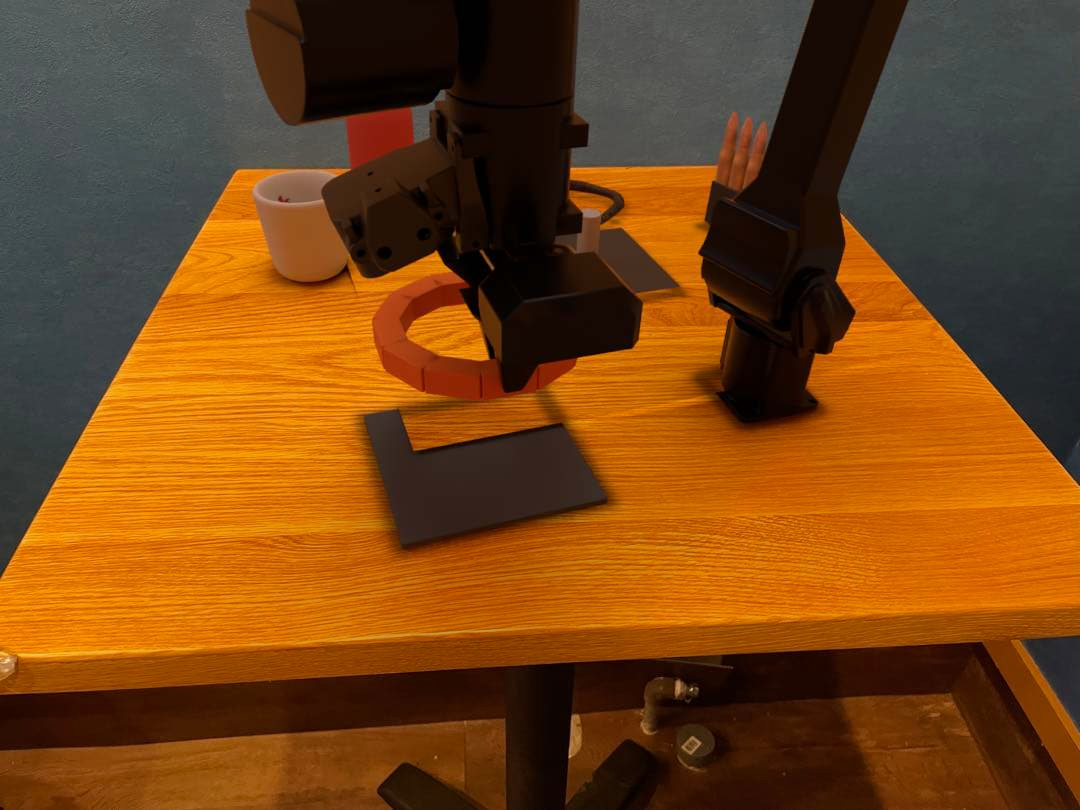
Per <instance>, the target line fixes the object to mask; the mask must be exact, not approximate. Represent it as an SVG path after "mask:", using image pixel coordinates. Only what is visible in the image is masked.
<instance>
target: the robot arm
mask: <svg viewBox="0 0 1080 810" xmlns="http://www.w3.org/2000/svg"><path fill="white" fill-rule="evenodd" d="M580 3H581V0H249V8H246V9H245V10H244V13H245V15H244V16H245V22H246V27H247V28H246V29H247V34H248V39H249V43H250V48H251V52H252V56H253V60H254V63H255V66H256V70H257V72H258V75H259V79H260V81H261V85H262V87H263V89H264V91H265V93H266V97H267V98H268V100H269V102H270V104H271V106H272V108H273V109H274V112H275V113H276V114H277V116H278V118H280V120H281V121H282V122H283V123H284V124H285V125H287V126H291V127H299V126H300V127H301V126H305V125H312V124H318V123H323V122H330V121H336V120H342V119H345V118H349V117H356V116H362V115H368V114H374V113H380V112H386V111H393V110H399V109H405V108H411V109H412V108H417V107H423V106H428V105H429V104H431V103H432V102H434V109H431V110H429V112H428V120H429V121H428V122H429V123H428V124H429V125H428V126H429V137H428V138H425V139H423V140H421V141H418V142H414V144H413V145H410V146H407V147H402V148H398V149H396V150H393V151H391V152H389V153H387V154H384V155H382V156H380V157H378V158H376V159H374V160H371V161H369V162H367V163H365V164H363V165H360V166H358V167H356V168H354V169H352V170H351V169H350V170H348V171H345V172H343V173H341V174H338V176H337V177H335V178H333V179H331V180H330V181H328V182H327V183H326V184H325V185H324V186H323V188H322V190H321V194H322V197H323V200H324V203H325V206H326V209H327V212H328V215H329V217H330V219H331V221H332V223H333V225H334V227H335V229H336V230H337V232H338V234H339V236H340V238H341V240H342V241H343V243H344V245H345V247H346V249H347V251H348V255H349V256H350V258H351V260H352V262H353V263H354V266H355V267H356V269H357V271H358V272H359V274H360V276H361V277H363V278H364V279H376V278H377V279H378V278H382V277H383V276H385V275H388V274H391V273H394V272H397V271H399V270H401V269H403V268H405V267H408V266H410V265H411V264H414V263H416V262H418V261H420V260H422V259H424V258H427V257H429V256H431V255H433V254H434V253H436V252H437V254H438V256H439V258H440V259H441V262H442V263H443V265H444V266H445V267H446V268H447V269H448V270H450V272H454V273H455V274H456V275H458V276H459V277H460V278H461V279H463V280H464V281H465V282H466V283H468V287H469V288H462V289H459V292H460V294H461V296H462V298H463V300H464V301H465V303H466V304H465V305H466V307H467V308H468V311H469V312H470V314H471V315H472V317H473V318H474V319H475V320H476V321H478V325H479V328H480V329H479V330H480V333H481V336H482V339H483V342H484V346H485V351H486V353H487V357H488V360H489V359H496V362H497V367H498V372H499V377H500V381H501V386H502V389H503V391H504V392H505V393H511V392H517V391H521V390H523V389H524V387H525V386H526V384H527V382H528V381H529V379H530V378H531V376H532V375H533V373H534V372H535V370H536V368H537V367H538V365H539V364H545V363H551V362H557V361H563V360H569V359H575V358H577V359H579V358H585V357H586V358H587V357H592V356H597V355H598V356H599V355H603V354H610V353H615V352H621V351H627V350H633V348H634V347H635V346H636V344H637V343H638V342H639V340H640V333H641V324H642V317H643V309H644V308H643V307H644V302H643V301H642V300H641V298H640V297H639V296H638V295H637V293H636V294H635V293H634V292H633V291H632V290H631V289H630V287H629V286H628V285H627V284H626V283H625V282H624V281H623V280H622V279H621V277H620V276H619V275H618V274H617V273H616V272H615V271H614V270H613V269H612V267H611V266H609V265H608V264H607V263H606V262H605V261H604V260H603V259H602V258H601V257H600V256H599V255H598V254H597V253H596V252H594V251H592V252H584V253H577V252H576V251H575V250H574V249H573V248H572V247H571V246H569V245H565V244H557V243H555V239H556V236H562V235H570V234H578V233H582V223H583V212H582V211H581V210H582V209H580V208H579V207H578V206H577V205H576V204H575V203H574V201H572V199H571V198H570V180H571V170H572V169H571V168H572V153H573V151H572V150H573V149H580V148H588V147H589V134H590V133H589V132H590V123H589V122H587V121H586V120H585V119H584V118H582V117H581V116H580V115H579V114H578V113H577V112H575V97H576V96H575V95H576V77H577V61H578V60H577V59H578V58H577V57H578V41H579V40H578V39H579V24H580V23H579V22H580V21H579V20H580V7H581V6H580ZM908 3H909V0H813V1H812V3H811V7H810V9H809V13H808V16H807V20H806V23H805V26H804V29H803V31H802V35H801V38H800V42H799V45H798V48H797V51H796V54H795V58H794V61H793V63H792V66H791V70H790V73H789V77H788V80H787V83H786V86H785V90H784V92H783V95H782V99H781V102H780V104H779V108H778V112H777V115H776V118H775V121H774V124H773V127H772V130H771V134H770V136H769V140H768V143H767V145H766V149H765V155H764V159H763V162H762V165H761V168H760V170H759V173H758V175H757V177H756V178H755V179H753V180H752V181H751V182H750V183H749V184H748V185H747V186H746V187H745V188H744V189H743V190H742V191H741V192H740V193H739V194H738V195H736V196H735V197H734V198H733V199H728V198H724V197H722V198H720V199H719V200H718V201H717V203H716V204H715V206H714V207H713V210H712V216H711V222H710V223H709V227H708V231H707V233H706V236H705V239H704V241H703V243H702V245H701V246H700V248H699V250H698V252H697V255H698V256H700V257H702V260H701V265H700V277H701V279H702V280H704V283H705V285H706V288H707V293H708V294H707V295H708V302H709V305H710V306H712V307H714V308H716V309H718V310H721V311H723V312H724V313H726V314H728V315H729V319H727V323H726V328H725V333H724V339H723V345H722V348H721V354H720V359H719V364H720V365H719V366H720V367H719V369H720V370H721V371H722V373H721V378H720V383H721V386H722V388H723V390H722V391H716V392H714V394H715V395H716V396H717V397H718V399H720V401H721V402H722V403H723V404H724V405H725V406H726V407H727V408H728V409H729V411H730V412H731V413H732V414H733V415H734V416H735V417H736V419H737V420H738V421H740V423H743V424H746V425H748V424H753V423H757V422H762V421H768V420H772V419H773V420H774V419H777V418H782V417H787V416H791V415H796V414H800V413H806V412H810V411H816V410H818V408H819V404H820V402H819V400H818V399H817V398H816V396H814V395H813V394H812V393H811V391H809V390H808V389H807V385H808V381H809V378H810V374H811V372H812V367H813V363H814V360H815V357H816V355H821V356H822V355H823V356H827V355H829V354H831V353H832V354H833V350H834V347H835V343H838V342H840V341H842V340H843V339H844V337H845V336H846V333H847V332H848V331H849V329H850V326H851V324H852V322H853V320H854V318H855V316H856V308H854V306H853V304H852V303H851V302H850V299H848V297H847V296H846V294H845V292H844V291H843V289H842V288H841V286H840V285H839V283H838V282H837V278H838V274H839V271H840V267H841V263H842V260H843V256H844V253H845V249H846V245H847V244H846V242H847V241H846V235H845V230H844V224H843V220H842V214H841V213H842V212H841V209H840V208H841V207H840V202H839V197H838V196H839V195H838V194H839V192H840V188H841V185H842V182H843V179H844V176H845V174H846V171H847V168H848V165H849V163H850V160H851V158H852V156H853V155H852V154H853V152H854V149H855V148H856V147H855V146H856V144H857V141H858V139H859V136H860V134H861V131H862V128H863V125H864V122H865V121H866V117H867V114H868V111H869V109H870V107H871V106H870V105H871V104H872V101H873V99H874V96H875V93H876V90H877V87H878V85H879V83H880V79H881V76H882V74H883V72H884V69H885V65H886V63H887V60H888V57H889V55H890V52H891V49H892V47H893V44H894V42H895V39H896V36H897V34H898V30H899V28H900V25H901V23H902V20H903V17H904V14H905V12H906V9H907V6H908ZM441 91H444V99H442V100H435V99H436V98H437V97H438V96H439V94H440V92H441Z"/></svg>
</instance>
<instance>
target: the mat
mask: <svg viewBox="0 0 1080 810" xmlns="http://www.w3.org/2000/svg"><path fill="white" fill-rule="evenodd" d="M363 419H364V424H365V427H366V430H367V433H368V437H369V440H370V444H371V447H372V450H373V454H374V457H375V460H376V464H377V467H378V470H379V472H380V477H381V480H382V483H383V487H384V492H385V495H386V497H387V501H388V504H389V508H390V511H391V515H392V518H393V521H394V525H395V527H396V528H395V529H396V531H397V534H398V537H399V542H400V544H401V547H402V549H403V550H404V549H408V548H412V547H418V546H421V545H426V544H430V543H431V544H432V543H436V542H439V541H443V540H448V539H453V538H456V537H461V536H466V535H471V534H474V533H480V532H482V531H488V530H493V529H498V528H499V527H501V528H502V527H505V526H510V525H514V524H518V523H523V522H526V521H532V520H535V519H536V520H537V519H540V518H544V517H545V518H546V517H549V516H552V515H553V516H554V515H558V514H562V513H566V512H571V511H575V510H576V511H577V510H579V509H583V508H589V507H592V506H598V505H601V504H606V503H608V500H609V498H608V496H607V494H606V492H605V491H604V489H603V487H602V486H601V484H600V482H599V481H598V479H597V477H596V475H595V473H594V472H593V471H592V469H591V468H590V466H589V464H588V462H587V460H586V459H585V458H584V456H583V454H582V453H581V451H580V449H579V447H578V446H577V445H576V443H575V441H574V440H573V437H572V436H571V435H570V433H569V431H568V430H567V428H566V426H565V424H564V423H563V422H556V423H551V424H546V425H542V426H541V425H540V426H537V427H536V426H535V427H532V428H531V427H530V428H526V429H521V430H516V431H511V432H505V433H500V434H495V435H490V436H489V435H488V436H485V437H484V436H483V437H479V438H475V439H474V438H473V439H470V440H463V441H459V442H454V443H448V444H444V445H438V446H433V447H428V448H423V449H422V448H421V449H417V450H414V447H413V445H412V441H411V439H410V436H409V433H408V430H407V428H406V425H405V422H404V420H403V416H402V414H401V411H400V408H395V409H389V410H384V411H379V412H372V413H366V414H364V415H363Z"/></svg>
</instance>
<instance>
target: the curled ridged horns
mask: <svg viewBox="0 0 1080 810" xmlns="http://www.w3.org/2000/svg"><path fill="white" fill-rule="evenodd" d="M570 189H571V190H574V191H580V192H583V193H588V194H593V195H598V196H601V197H605V198H608V199H611V200H612V201H613V204H611V205H610V207H608V208H607V209H606V210H605V211H603V213H601V223H600V226H602V225H604V224H606V222H608V221H609V220H611V219H612V218H613V217H615V216H616V215H617V214H619V213H620V212H621V211H622V210H623V208H624V207H625V198H624V196H622V194H621V193H620V192H619V191H616V190H614V189H610V188H608V187H604V186H601V185H598V184H594V183H592V182H591V183H590V182H587V181H583V180H579V179H570ZM570 189H569V190H570Z"/></svg>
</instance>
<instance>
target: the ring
mask: <svg viewBox="0 0 1080 810" xmlns="http://www.w3.org/2000/svg"><path fill="white" fill-rule="evenodd" d="M462 288H469V287H468V283H466V282H465V281H464V280H463V279H461V278H460V277H459V276H458V275H456V274H455V273H454V272H453V271H450V272H440V273H433V274H430V275H425V276H423V277H421V278H419V279H417V280H414V281H413V282H411V283H408V284H406V285H403V286H402V287H399V288H397V289H395V290H392V291H391V293H389V294H387V297H386V298H385V299H384V301H382V303H381V304H380V306H379V308H378V309H377V310H376V312H375V313H374V315H373V316H372V320H371V325H372V335H373V343H374V346H375V348H376V352H377V354H378V357H379V360H380V362H381V365H382V368H383V370H385V372H386V373H387V374H390V375H391V376H393V377H395V378H397V379H398V380H400V381H401V382H403V383H405V384H407V385H408V386H410V387H411V388H413V389H415V390H417V391H419V392H420V393H425V394H427V395H435V396H441V397H448V398H456V399H464V400H469V401H470V400H471V401H477V402H479V401H481V399H482V401H484V402H485V401H490V400H496V399H501V398H506V397H507V398H508V397H513V396H518V395H519V396H520V395H524V394H529V393H534V392H535V393H536V392H537V390H538V391H541V390H542V389H544V388H546V387H547V386H548V385H550V384H551V383H553V382H555V381H556V380H557V379H559V378H561V377H563V376H564V375H565V374H567V373H568V372H570V371H572V370H573V369H574V368H575V367H576V365H577V362H578V358H575V359H569V360H563V361H557V362H551V363H545V364H539V365H538V367H537V368H536V370H535V372H534V373H533V375H532V376H531V378H530V379H529V381H528V382H527V384H526V386H525V387H524V389H523V390H521V391H517V392H511V393H505V392H504V391H503V389H502V386H501V381H500V377H499V372H498V367H497V362H496V359H489V358H488V359H483V360H476V359H468V358H461V357H453V356H447V355H446V356H445V355H439V354H437V353H435V352H432V351H431V350H429V349H427V348H426V347H425V346H422V345H420V344H418V343H416V342H414V341H413V340H410V339H409V337H408V335H407V333H408V331H409V329H410V327H411V326H412V324H413V323H414V322H415V321H416V320H419V319H420V318H422V317H424V316H426V315H428V314H430V313H432V312H434V311H436V310H438V309H441V308H444V307H451V306H458V305H466V303H465V301H464V300H463V298H462V296H461V294H460V292H459V289H462Z"/></svg>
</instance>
